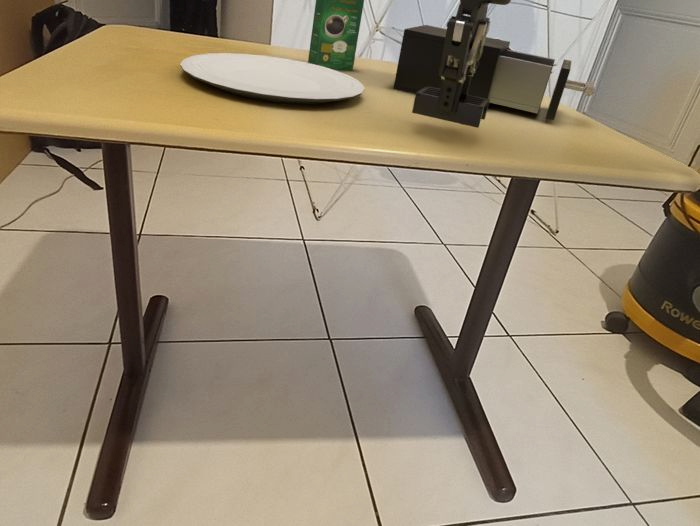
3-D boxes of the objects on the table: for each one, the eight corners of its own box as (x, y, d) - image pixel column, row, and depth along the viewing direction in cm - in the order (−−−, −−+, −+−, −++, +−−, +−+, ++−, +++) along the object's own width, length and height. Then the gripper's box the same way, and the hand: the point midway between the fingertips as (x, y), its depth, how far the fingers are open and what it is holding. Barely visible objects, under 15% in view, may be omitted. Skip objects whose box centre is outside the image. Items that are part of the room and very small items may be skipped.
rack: (422, 104, 71) (426, 85, 70) (485, 119, 69) (490, 99, 68) (411, 112, 66) (415, 92, 65) (478, 128, 64) (483, 107, 63)
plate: (385, 119, 71) (388, 105, 70) (180, 102, 64) (180, 85, 63) (339, 75, 92) (340, 63, 91) (180, 58, 84) (180, 45, 83)
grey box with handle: (583, 112, 92) (599, 66, 88) (583, 127, 81) (601, 76, 78) (477, 88, 96) (488, 43, 93) (464, 99, 86) (477, 50, 82)
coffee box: (345, 68, 99) (356, -14, 92) (354, 72, 97) (367, -12, 90) (306, 67, 94) (315, -20, 88) (315, 71, 92) (325, -17, 86)
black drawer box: (495, 97, 96) (510, 41, 92) (483, 111, 85) (500, 48, 81) (414, 79, 100) (425, 24, 95) (392, 90, 88) (404, 28, 84)
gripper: (515, -48, 52) (471, 129, 60) (527, -40, 64) (489, 107, 72) (437, -60, 54) (404, 114, 62) (463, -50, 66) (433, 94, 74)
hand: (450, 109), depth 67 cm, fingers closed on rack, 5 cm apart
